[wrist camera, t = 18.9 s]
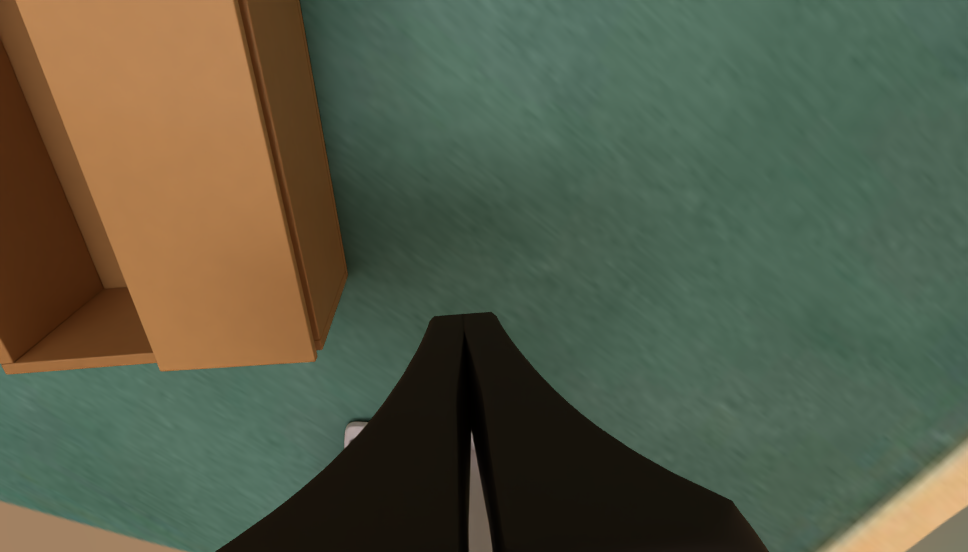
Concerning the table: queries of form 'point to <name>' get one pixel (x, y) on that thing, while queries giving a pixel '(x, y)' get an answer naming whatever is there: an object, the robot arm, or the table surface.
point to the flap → (179, 173)
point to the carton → (80, 232)
